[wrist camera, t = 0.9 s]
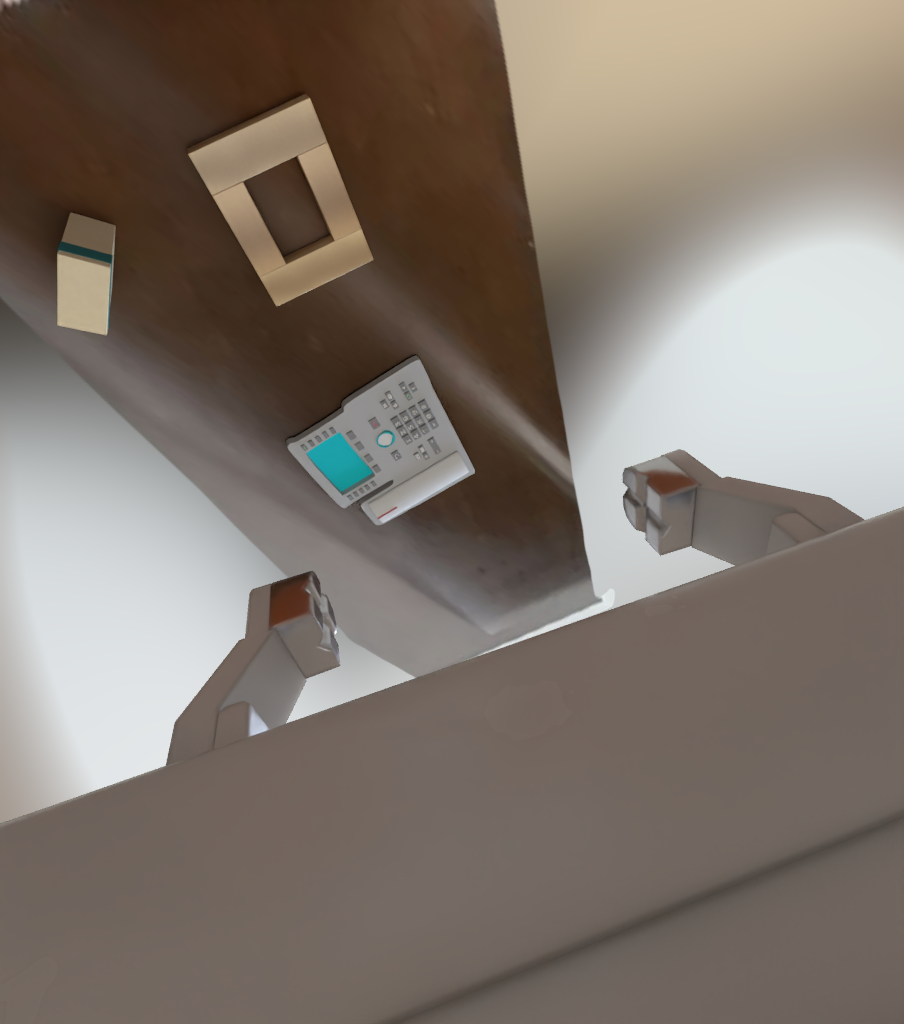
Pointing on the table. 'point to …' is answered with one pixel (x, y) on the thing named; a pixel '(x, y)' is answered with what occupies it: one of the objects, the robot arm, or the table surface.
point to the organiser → (302, 137)
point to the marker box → (85, 274)
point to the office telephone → (385, 446)
